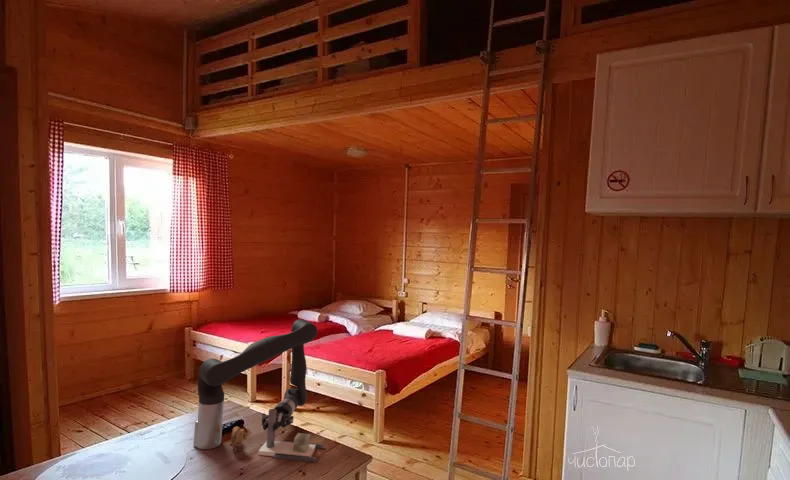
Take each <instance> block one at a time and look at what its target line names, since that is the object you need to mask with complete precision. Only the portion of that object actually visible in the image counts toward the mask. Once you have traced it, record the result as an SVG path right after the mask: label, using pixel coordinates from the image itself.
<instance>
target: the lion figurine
mask: <svg viewBox="0 0 790 480" xmlns="http://www.w3.org/2000/svg"><path fill="white" fill-rule="evenodd" d="M248 437H249V434H248V433H247V432H246V431H245V429H244V428H241V427H239V426H237V425H236V426H234V427H233V428H232V430H231V439H230V443H229V446H231V447H232V449H231V453H235V452H236V446H238V447H237V449H238V451H242V450H243V448H242V444H243V443H244V440H247V439H248Z"/></svg>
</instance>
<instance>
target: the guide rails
mask: <svg viewBox="0 0 790 480" xmlns="http://www.w3.org/2000/svg"><path fill="white" fill-rule="evenodd" d="M283 442H292V443H294V440H284V441H283ZM310 444H313V445H316V448H315V449H319V450H323V449H324V445H325V444H324V443H314V442H310ZM274 459H278V460H287V461H297V462H305V463H306V462H307V463H317V461H318V457H317V456H311V457H308V456H298V455H288V454H278V453H276V454H275V456H274Z"/></svg>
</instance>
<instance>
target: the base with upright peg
mask: <svg viewBox="0 0 790 480" xmlns="http://www.w3.org/2000/svg"><path fill="white" fill-rule="evenodd" d="M276 414H277V410H276V409H274V408H270V409H268V414H267V415H268V418H267V419H268V428H267V429H266V430H267V433H266V441H265V442H264V443H263V445H262V446H261V447H260V448H259V449H258V454H257V455H258V456H265V457H266V456H269V457H275V454H276V453H278V454H288V455H298V456H308V457H313V454H314V452H315V450H316V449H317V448H316V445H313V444H310V446H309V448H308V450H307V452H306V453H302V452H293V448H294V443H292V442H284V441H282V440H281V441H280V440H276V430H275V431H273V425H274V424H275V423H276Z"/></svg>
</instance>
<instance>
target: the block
mask: <svg viewBox="0 0 790 480" xmlns="http://www.w3.org/2000/svg"><path fill="white" fill-rule="evenodd" d="M293 441H294V448H293V452H302V453H306V452H307V450H308V448H309V446H310V443H311V433H301V432H297V434H296V435H295V437H294V438H293Z"/></svg>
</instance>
